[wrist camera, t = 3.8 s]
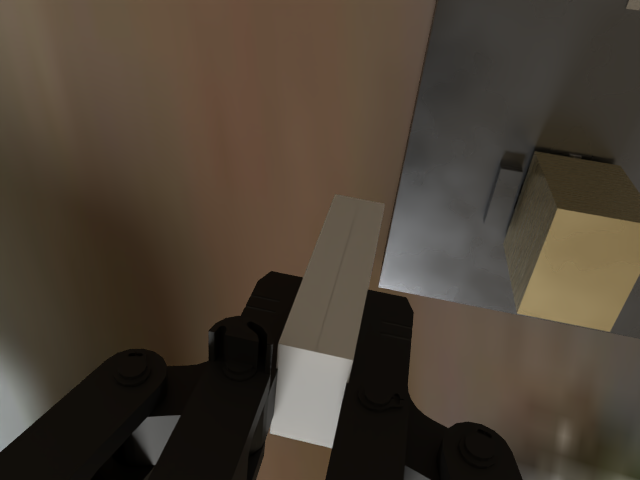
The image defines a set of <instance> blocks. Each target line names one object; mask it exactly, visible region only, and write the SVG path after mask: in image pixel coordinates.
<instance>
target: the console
mask: <svg viewBox="0 0 640 480" xmlns="http://www.w3.org/2000/svg"><path fill="white" fill-rule="evenodd" d="M535 151H536V152H542V153H548V154H554V155H560V156H566V157H572V158H578V159H584V160H590V161H596V162H601V163H607V164H613V165H619V166H621V167H622V169H623V170H624V172H625V173H626V175H627V176H628V177H629V179H630V180H631V182H632V183H633V184H634V186H635V187H636V189H637V190H638V192H639V193H640V0H436V4H435V9H434V14H433V19H432V24H431V29H430V34H429V38H428V43H427V48H426V53H425V58H424V63H423V68H422V72H421V77H420V82H419V87H418V92H417V97H416V102H415V106H414V111H413V116H412V121H411V126H410V131H409V136H408V140H407V145H406V150H405V155H404V160H403V165H402V170H401V174H400V179H399V184H398V189H397V194H396V199H395V204H394V208H393V213H392V218H391V223H390V228H389V233H388V237H387V242H386V247H385V252H384V257H383V262H382V268H381V274H380V281H379V287H381V288H386V289H391V290H396V291H401V292H406V293H411V294H416V295H421V296H426V297H431V298H436V299H441V300H447V301H452V302H457V303H462V304H467V305H472V306H477V307H482V308H487V309H492V310H497V311H502V312H507V313H512V314H517V312H516V307H515V301H514V296H513V291H512V286H511V281H510V276H509V271H508V265H507V260H506V255H505V250H504V245H503V243H504V240H505V237H506V234H507V231H508V229H509V226H510V223H511V220H512V217H513V214H514V211H515V208H516V205H517V202H518V199H519V196H520V193H521V190H522V187H523V184H524V182H525V179H526V176H527V173H528V170H529V167H530V164H531V161H532V158H533V155H534V152H535ZM517 315H522V314H517ZM522 316H527V315H522ZM527 317H532V316H527ZM532 318H537V317H532ZM538 319H542V318H538ZM543 320H547V319H543ZM548 321H552V320H548ZM553 322H557V321H553ZM558 323H562V322H558ZM563 324H567V323H563ZM568 325H572V324H568ZM573 326H577V325H573ZM578 327H582V326H578ZM583 328H587V327H583ZM588 329H592V328H588ZM593 330H598V329H593ZM598 331H603V330H598ZM603 332H608V331H603ZM608 333H613V334H618V335H623V336H629V337H634V338H639V339H640V275H639V277H638V278H637V280H636V282H635V284H634V286H633V288H632V290H631V292H630V294H629V296H628V298H627V300H626V302H625V304H624V306H623V308H622V310H621V311H620V313H619V315H618V317H617V319H616V321H615V323H614V325H613V327H612V329H611V331H610V332H608Z"/></svg>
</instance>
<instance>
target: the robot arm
mask: <svg viewBox="0 0 640 480" xmlns="http://www.w3.org/2000/svg"><path fill="white" fill-rule="evenodd" d="M384 207H385V204H384V203H378V202H373V201H368V200H363V199H357V198H352V197H347V196H341V195H336V194H335V196H334V198H333V201H332V204H331V206H330V209H329V212H328V214H327V217H326V219H325V222H324V225H323V227H322V230H321V233H320V235H319V238H318V240H317V243H316V246H315V248H314V251H313V254H312V256H311V259H310V261H309V264H308V267H307V269H306V272H305V275H304V277H298V276H293V275H288V274H283V273H278V272H273V271H271V272H269V273H268V274H267V275H265V276H264V277H263V278H261V279H260V280H259V281H258V282H257V284H256V286H255V288H254V290H253V292H252V294H251V297H250V298H249V300H248V302H247V304H246V308H244V310H243V312H242V314H241V316H235V317H229V318H225V319H223V320H221V321H219V322H217V323H215V325H214V326H213V327H212V328H211V329H210V330H209V361H207V362H204V363H201V364H197V365H189V366H167V365H166V363H165V361H164V359H163V358H162V357H161V356H160V355H158V354H157V353H155V352H153V351H149V350H145V349H129V350H126V351H123V352H119V353H117V354H115V355H114V356H112V357H110V358H109V359H107V360H106V361H105V362H104V363H102V364H101V365H100V366H99V367H98V368H97V369H96V370H94V371H93V372H92V373H91V374H90V375H89V376H87V377H86V378H85V379H84V380H83V381H82V382H81V383H79V384H78V385H77V386H76V387H75V388H74V389H73V390H71V391H70V392H69V393H68V394H67V395H66V396H64V397H63V398H62V399H61V400H60V401H59V402H58V403H56V404H55V405H54V406H53V407H52V408H51V409H50V410H48V411H47V412H46V413H45V414H44V415H43V416H41V417H40V418H39V419H38V420H37V421H36V422H35V423H33V424H32V425H31V426H30V427H29V428H28V429H26V430H25V431H24V432H23V433H22V434H21V435H20V436H18V437H17V438H16V439H15V440H14V441H13V442H12V443H10V444H9V445H8V446H7V447H6V448H5V449H3V450H2V451H1V452H0V480H256V478H257V475H258V472H259V469H260V466H261V463H262V460H263V457H264V449H265V439H266V436H267V433H268V430H269V427H270V425H271V429H270V433H271V434H275V435H279V436H283V437H287V438H291V439H296V440H300V441H304V442H308V443H312V444H317V445H321V446H325V447H329V448H332V451H331V456H330V461H329V465H328V470H327V475H326V479H325V480H523V479H522V477H521V474H520V471H519V469H518V466H517V464H516V461H515V458H514V456H513V453H512V451H511V449H510V448H509V446H508V444H507V443H506V441H505V440H504V439H503V438H502V437H501V436H500V435H498V434H497V433H496V432H495V431H494V430H492V429H490V428H488V427H486V426H484V425H482V424H477V423H472V422H463V423H456V424H455V425H453V426H451V427H450V428H447V427H445V426H443V425H441V424H439V423H437V422H435V421H433V420H432V419H430V418H429V417H427V416H426V415H424V414H423V413H422V412H421V411H420V410H419V409H418V408H417V407H416V406H415V405H414V403H413V402H412V400H411V398H410V395H409V393H408V374H409V362H410V350H411V338H412V326H413V313H414V312H413V310H412V308H411V306H410V304H409V302H408V300H407V298H406V297H401V296H396V295H391V294H387V293H382V292H377V291H372V290H368V288H369V283H370V278H371V273H372V268H373V263H374V258H375V253H376V248H377V243H378V238H379V232H380V227H381V222H382V217H383V212H384Z"/></svg>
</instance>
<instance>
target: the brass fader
mask: <svg viewBox="0 0 640 480" xmlns="http://www.w3.org/2000/svg"><path fill="white" fill-rule="evenodd" d="M503 245H504V250H505V255H506V260H507V265H508V271H509V276H510V281H511V286H512V291H513V296H514V301H515V307H516V312H517V314H522V315H527V316H532V317H537V318H542V319H547V320H552V321H557V322H562V323H567V324H572V325H577V326H582V327H587V328H592V329H598V330H603V331H608V332H610V331H611V329H612V327H613V325H614V323H615V321H616V319H617V317H618V315H619V313H620V311H621V310H622V308H623V306H624V304H625V302H626V300H627V298H628V296H629V294H630V292H631V290H632V288H633V286H634V284H635V282H636V280H637V278H638V277H639V275H640V193H639V192H638V190H637V189H636V187H635V186H634V184H633V183H632V182H631V180H630V179H629V177H628V176H627V175H626V173H625V172H624V170H623V169H622V167H621V166H619V165H613V164H607V163H601V162H596V161H590V160H584V159H578V158H572V157H566V156H560V155H554V154H548V153H542V152H536V151H535V152H534V155H533V158H532V161H531V164H530V167H529V170H528V173H527V176H526V179H525V182H524V184H523V187H522V190H521V193H520V196H519V199H518V202H517V205H516V208H515V211H514V214H513V217H512V220H511V223H510V226H509V229H508V231H507V234H506V237H505V240H504V243H503Z"/></svg>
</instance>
